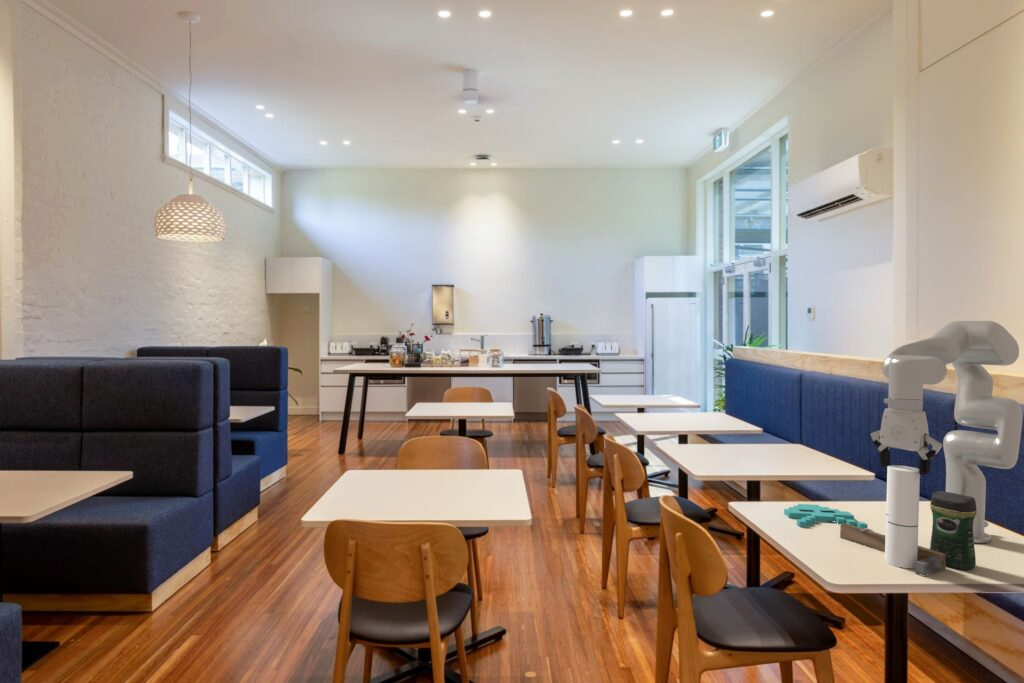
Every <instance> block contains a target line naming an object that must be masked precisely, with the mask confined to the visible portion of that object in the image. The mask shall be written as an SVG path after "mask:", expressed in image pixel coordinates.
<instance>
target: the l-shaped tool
mask: <svg viewBox="0 0 1024 683" xmlns="http://www.w3.org/2000/svg"><path fill="white" fill-rule="evenodd" d="M839 534H840V536H839V538H840V537H841V538H840V539H843V538H844V539H843V540H846V541H849V542H853V543H855V542H856V543H855V544H858V543H859V545H862V546H864V545H865V547H868V548H870V547H871V548H870V549H873V548H874V550H876V549H877V550H876V551H879V550H880V552H882V551H883V552H882V553H885V535H884V534H881V533H879V532H875V531H872V530H870V529H869V528H867V529H866V528H864V529H862V528H859V527H856V526H852V525H849V524H846V523H843V524H841V525H840V532H839ZM946 568H947V566H946V554H944V553H941V552H938V551H934V550H931V549H930V548H927V547H924V546H921V545H918V554H917V561H916V562H915V568H914V574H915V573H918V574H921V575H927V574H930V573H933V574H935V573H934V572H936V573H938V572H937V571H939V572H942V571H944V570H946ZM941 570H942V571H941ZM918 574H917V575H918ZM921 575H920V576H921ZM930 575H931V574H930ZM927 576H928V575H927Z"/></svg>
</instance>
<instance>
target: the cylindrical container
mask: <svg viewBox="0 0 1024 683" xmlns="http://www.w3.org/2000/svg"><path fill="white" fill-rule="evenodd" d="M886 468H887V470H886V472H887V473H886V504H885V506H886V507H885V552H884V562H885V563H886V564H888V565H890V566H893V567H895V566H896V568H899V567H902V568H901V569H906V568H914V569H915V562H916V561H917V554H918V546H919V520H920V519H919V517H920V516H919V515H920V514H919V512H920V487H921V486H920V485H921V483H920V482H921V480H920V479H921V475H920V474H919V468H917V467H912V466H906V465H897V464H896V465H895V464H894V465H893V464H892V465H891V464H890V466H886Z"/></svg>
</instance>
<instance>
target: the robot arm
mask: <svg viewBox="0 0 1024 683" xmlns="http://www.w3.org/2000/svg"><path fill="white" fill-rule="evenodd" d="M1019 355H1020V346H1019V344H1018V342H1017V340H1016V339H1015V337H1014V336H1013V335H1012V334H1011V333H1010V332H1009V331H1008V330H1007V329H1006V328H1005V326H1002V325H1001V324H1000V323H998V322H996V321H992V320H956V321H952V322H949V323H947V324H945V325H944V326H943V327H942V328H940V329H939V330H938V331H937V332H935V334H933V335H932V336H931V337H929V338H925V339H921V340H918V341H914V342H911V343H906V344H904V345H901V346H898V347H897V348H895V349H894V350H893V351H891V352H890V353H889V354H888V355H887V356H886V358H885V359H884V361H883V363H882V375H883V376H884V378H885V379H886V380H887V381H888V397H887V398H885V397H884V399H883V403H884V404H887V408H884V411H883V413H882V418H881V423H880V424H881V425H880V429H879V430H876V431H874V432H871V433H870V437H871V439H872V441H873V444H874V446H875V447H876V448H877V451H878V452H879V462H880V467H882V468H884V467H885V468H886V467H887V466H890V465H891V451H890V450H889V449H890V448H893V449H899V450H906V451H910V452H917V454H918V455H919V456H920V457H921V458H920V459H919V462H918V463H919V465H918V467H919V468H918V469H919V474H920V476H924V475H929V474H930V471H931V459H933V458H934V457H935V456H937V455H938V454H939V451H940V450H941V449H942V447H943V453H944V458H945V473H946V474H945V492H950V493H956V494H960V495H965V496H970V497H973V498H974V499H975V502H976V509H977V513H976V516H975V517H974V520H973V538H974V544H986V543H990V542H991V540H992V536H991V535H989V534H988V533H986V532H985V528H988V527H989V522H988V521H986V519H985V518H986V516H985V515H986V497H987V496H986V494H987V492H986V490H987V481H986V476H985V475H984V473H983V472H982V470H981V469H980V467H979V466H983V467H984V466H985V467H990V468H996V469H1002V470H1009V469H1012V468H1014V467H1015V465H1016V464H1017V461H1018V459H1019V451H1020V445H1021V436H1022V429H1023V428H1022V427H1023V417H1024V416H1023V410H1022V407H1021V404H1020V403H1019V402H1018V401H1016V400H1015V399H1012V398H1007V397H998V396H997V397H996V396H993V390H994V380H993V377H992V375H991V374H990V372H988V371H987V369H985V367H984V366H1004V367H1005V366H1010V365H1013V364H1014V363H1016V362H1017V360H1018V358H1019ZM950 364H952V366H953V368H954V371H955V374H956V376H957V386H956V392H955V393H956V394H955V402H954V407H953V408H954V410H953V417H954V421H956V423H957V424H959V425H961V426H964V427H965V426H966V427H969V428H970V427H971V428H977V429H978V428H979V429H986V430H987V429H988V430H993V431H997V434H995V433H988V432H982V431H981V432H980V431H974V430H973V431H972V430H967V429H966V430H964V429H959V430H958V429H956V430H951V431H949V432H947V433H946V434H945V435H944V437H943V441H942V443H941V442H940V441H938V440H936V439H935V438H933V436H930V434H929V423H928V419H927V418H928V417H927V414H926V411H923V408H924V406H923V405H924V402H923V400H924V399H923V398H924V385H929V386H933V385H938V384H940V383H942V382H943V381H944V379H945V378H946V376H947V373H948V370H947V369H948V368H947V365H950ZM929 444H930V445H931V446H932V448H931V450H929V449H928V448H929V446H930V445H929Z"/></svg>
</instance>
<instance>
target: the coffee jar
mask: <svg viewBox="0 0 1024 683" xmlns="http://www.w3.org/2000/svg"><path fill="white" fill-rule="evenodd" d="M929 507H930V510H931V513H932V528H931V537H930V543H929V549H931V550H934V551H938V552H941V553H944V554H946V567H949V568H953V567H954V568H953V569H960V570H971V569H974V568H975V567H976V565H977V564H976V562H977V561H976V549H975V543H974V538H973V520H974V517H975V516H976V513H977V509H976V502H975V499H974V498H973V497H970V496H965V495H960V494H956V493H950V492H946V491H943V490H938V491H935V492H933V493H932V495H931V498H930V504H929Z"/></svg>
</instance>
